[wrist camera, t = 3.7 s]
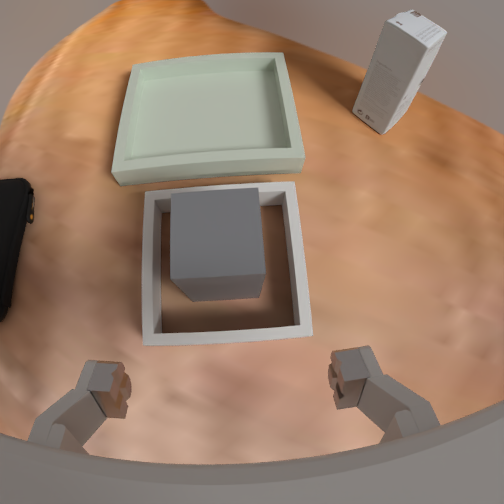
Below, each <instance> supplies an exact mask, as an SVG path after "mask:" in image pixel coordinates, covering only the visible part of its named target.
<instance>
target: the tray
mask: <svg viewBox="0 0 504 504" xmlns="http://www.w3.org/2000/svg"><path fill="white" fill-rule="evenodd" d="M304 161H305V153H304V148H303V142H302V137H301V132H300V127H299V122H298V117H297V112H296V107H295V103H294V98H293V93H292V89H291V84H290V80H289V75H288V71H287V67H286V63H285V58H284V54H283V53H275V52H265V53H231V54H214V55H202V56H192V57H182V58H174V59H167V60H159V61H153V62H147V63H141V64H135V65H133V67H132V71H131V75H130V79H129V83H128V87H127V91H126V95H125V100H124V104H123V109H122V114H121V119H120V124H119V129H118V134H117V140H116V146H115V151H114V158H113V164H112V171H111V173H112V174H113V176H114V177H115V179H116V180H117V182H118V183H119V185H120V186H127V185H136V184H145V183H154V182H164V181H175V180H186V179H198V178H211V177H226V176H242V175H262V174H288V173H301V170H302V167H303V164H304Z"/></svg>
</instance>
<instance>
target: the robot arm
mask: <svg viewBox="0 0 504 504" xmlns="http://www.w3.org/2000/svg"><path fill="white" fill-rule="evenodd" d="M330 358H331V361H332V363H331V364H330V365H329V369H328V379H329V384H330V387H331V388H332V389H333V390H334V395H333V398H334V401H335V405H336V408H337V409H344V408H351V407H357V406H358V407H357V408H358V409H360V410H361V411H362V412H363V413H364V414H365V415H366V416H367V417H368V418H369V419H371V420H372V421H373V422H374V423H375V424H376V425H377V426H378V427H379V428H381V429H382V430H383V431H384V432H385V434H384V436H383V438H382V439H381V441H380V443H379V444H376V445H372V446H367V447H363V448H358V449H353V450H348V451H343V452H338V453H333V454H327V455H321V456H314V457H307V458H300V459H292V460H283V461H272V462H260V463H245V464H215V465H196V464H166V463H151V462H139V461H130V460H121V459H113V458H106V457H99V456H93V455H89V453H88V452H87V451H86V450H85V449H84V448H83V447H82V446H83V445H84V444H85V443H86V442H87V440H88V439H89V438H90V437H91V436H92V435H93V434H94V433H95V431H96V430H97V429H98V428H99V427H100V426H101V425H102V423H103V422H104V421H105V420H106V419H107V418H121V419H125V417H126V413H127V408H128V405H127V403H126V400H128V399H129V398H130V395H131V381H130V378H129V375H127V374H126V373H125V372H124V370H125V367H124V365H123V363H122V362H113V361H96V360H88V361H87V362H86V363H85V365H84V368H83V370H82V373H81V375H80V378H79V380H78V383H77V386H76V388H75V389H72V390H70V391H69V392H68V393H67V394H66V395H64V396H63V397H62V398H61V399H59V400H58V401H57V402H56V403H54V404H53V405H52V406H51V407H49V408H48V409H47V410H46V411H45V412H43V413H42V414H41V415H40V416H38V417H37V418H36V420H35V422H34V425H33V427H32V430H31V433H30V435H29V438H28V441H25V440H22V439H18V438H15V437H12V436H8V435H5V434H2V433H0V504H504V400H502V401H500V402H498V403H496V404H493V405H491V406H489V407H487V408H484V409H482V410H480V411H477V412H475V413H473V414H470V415H468V416H465V417H462V418H460V419H457V420H455V421H452V422H449V423H446V424H444V425H440V423H439V421H438V419H437V417H436V415H435V413H434V410H433V408H432V406H431V404H430V402H428V401H427V400H425V399H424V398H422V397H421V396H419V395H417V394H416V393H414V392H413V391H411V390H410V389H408V388H407V387H405V386H404V385H402V384H401V383H399V382H398V381H396V380H394V379H393V378H391V377H390V376H388V375H383V373H382V371H381V368H380V366H379V364H378V362H377V360H376V357H375V355H374V353H373V351H372V349H371V347H370V346H363V347H357V348H349V349H343V350H336V351H332V353H331V357H330Z"/></svg>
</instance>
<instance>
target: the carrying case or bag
mask: <svg viewBox="0 0 504 504" xmlns="http://www.w3.org/2000/svg"><path fill="white" fill-rule="evenodd" d="M33 192H34V190H33V189H32V188H31V185H30V183H29V182H28V181H27V180H25V179H23V178H15V179H5V180H0V322H1V321H2V320H3V319H4V317H5V316H6V314H7V311H8V307H9V308H10V306H11V296H12V290H13V284H14V278H15V272H16V267H17V262H18V257H19V252H20V248H21V243H22V239H23V235H24V231H25V227H26V223H27V222H28V223H30V224H32V222H33V219H34V201H35V197H34V196H33V195H34V193H33Z"/></svg>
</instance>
